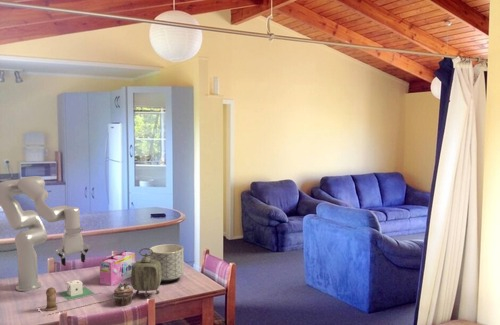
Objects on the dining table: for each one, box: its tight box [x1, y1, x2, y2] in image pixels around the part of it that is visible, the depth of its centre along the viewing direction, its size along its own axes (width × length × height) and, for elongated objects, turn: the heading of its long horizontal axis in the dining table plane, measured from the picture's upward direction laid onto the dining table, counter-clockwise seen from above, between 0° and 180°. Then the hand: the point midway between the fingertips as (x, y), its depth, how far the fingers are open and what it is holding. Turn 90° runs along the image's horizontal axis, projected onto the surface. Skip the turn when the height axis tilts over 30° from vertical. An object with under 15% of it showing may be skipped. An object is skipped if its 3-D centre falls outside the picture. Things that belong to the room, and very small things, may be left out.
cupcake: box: [112, 282, 134, 307], centre depth 234 cm, size 10×10×10 cm
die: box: [66, 279, 83, 296], centre depth 247 cm, size 6×6×6 cm
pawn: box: [45, 287, 58, 312], centre depth 226 cm, size 5×5×11 cm
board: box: [35, 292, 113, 316], centre depth 233 cm, size 13×33×1 cm, turn 130°
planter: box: [149, 243, 185, 283], centre depth 270 cm, size 19×19×18 cm
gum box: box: [99, 250, 136, 287], centre depth 271 cm, size 24×8×14 cm, turn 157°
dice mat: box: [58, 286, 96, 301], centre depth 248 cm, size 14×14×1 cm
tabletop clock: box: [130, 247, 162, 298], centre depth 244 cm, size 14×9×25 cm, turn 92°
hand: (73, 263), depth 245 cm, fingers open, 9 cm apart
